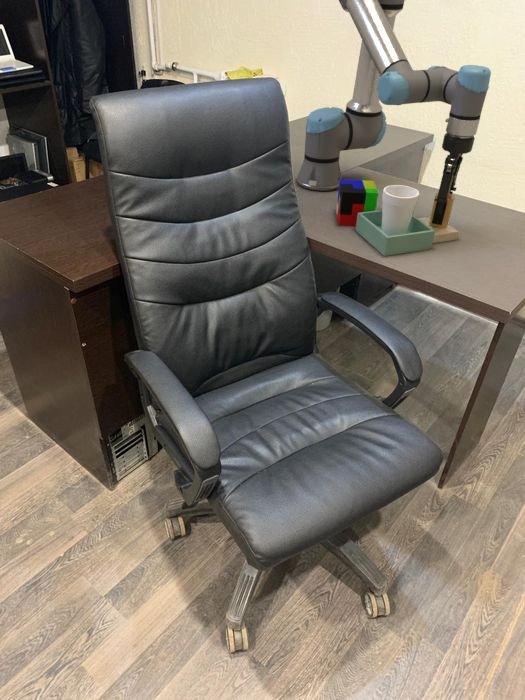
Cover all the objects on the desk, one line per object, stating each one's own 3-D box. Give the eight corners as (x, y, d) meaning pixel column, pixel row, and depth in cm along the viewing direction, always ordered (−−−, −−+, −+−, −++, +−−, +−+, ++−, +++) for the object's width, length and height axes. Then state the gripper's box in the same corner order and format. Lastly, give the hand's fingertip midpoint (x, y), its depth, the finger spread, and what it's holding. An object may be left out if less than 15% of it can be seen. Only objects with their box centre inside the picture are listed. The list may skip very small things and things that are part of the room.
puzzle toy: (336, 211, 162) (339, 179, 156) (368, 212, 162) (373, 180, 155) (338, 225, 154) (342, 192, 148) (372, 226, 154) (378, 193, 148)
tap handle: (425, 221, 151) (431, 192, 146) (440, 219, 152) (447, 190, 147) (435, 229, 147) (442, 199, 142) (451, 227, 148) (459, 197, 143)
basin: (355, 230, 151) (357, 212, 148) (399, 224, 155) (402, 207, 152) (384, 256, 139) (387, 237, 136) (431, 248, 143) (435, 230, 140)
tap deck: (410, 227, 154) (412, 218, 152) (439, 223, 157) (441, 214, 155) (432, 243, 146) (434, 234, 144) (461, 238, 148) (463, 230, 147)
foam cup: (409, 246, 142) (419, 199, 134) (375, 242, 144) (383, 196, 136) (409, 231, 150) (418, 186, 142) (376, 227, 151) (383, 183, 143)
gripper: (452, 122, 143) (433, 203, 157) (437, 142, 128) (418, 229, 142) (480, 126, 141) (459, 208, 155) (469, 147, 126) (446, 235, 140)
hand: (439, 218), depth 149 cm, fingers open, 7 cm apart
